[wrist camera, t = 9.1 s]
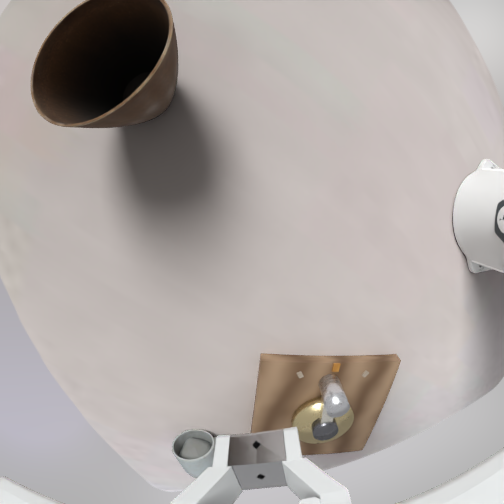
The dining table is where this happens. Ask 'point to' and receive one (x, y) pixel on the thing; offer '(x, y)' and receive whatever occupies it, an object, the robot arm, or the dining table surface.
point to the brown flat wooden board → (306, 387)
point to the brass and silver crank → (324, 413)
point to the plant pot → (107, 65)
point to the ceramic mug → (194, 451)
